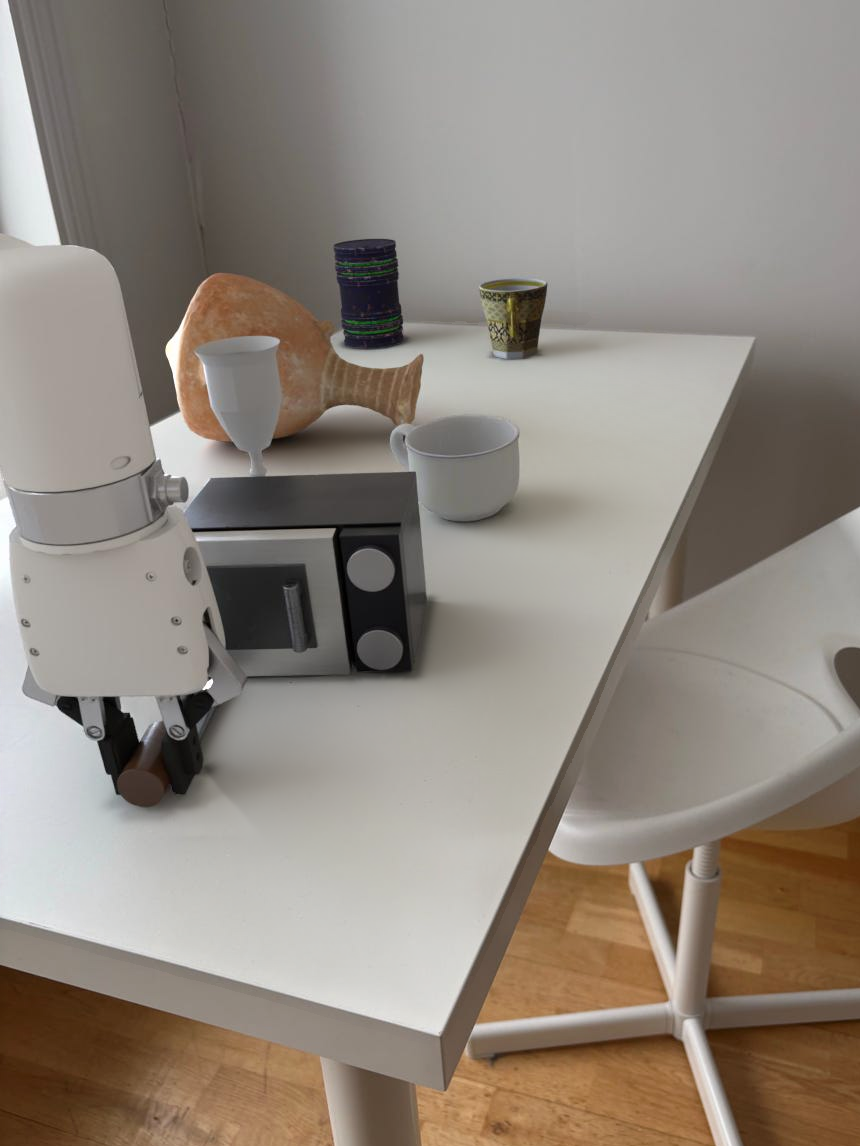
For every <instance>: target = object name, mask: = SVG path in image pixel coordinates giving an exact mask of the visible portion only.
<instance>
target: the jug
mask: <svg viewBox="0 0 860 1146" xmlns="http://www.w3.org/2000/svg"><path fill="white" fill-rule="evenodd" d="M335 329H336V328H335V325H334V324H333V322H332V321H330V320H328V319H327V320H324V321H318V320H317V318H315V317H314V316H313V314H312V313H311V312H310V311H309V310H308V309H307V308H306V307H304V306H303V305H302V304H301V303H299V302H298V301H297V300H295V299H293V298H292V297H290V296H289V295H288V294H286V293H284V292H283V291H281V290H279V289H277V288H275V287H273V286H271V285H268V284H266V283H264V282H262V281H259V280H257V279H255V278H252V277H250V276H246V275H242V274H235V273H228V272H216V273H214V274H212V275H210V276H208V278H206V279H205V280H203V281H202V282H201V284H199V286H198V287H197V288H196V292H195V293H194V295H193V297H192V298H191V300H190V303H189V305H188V307H187V310H186V312H185V315H184V316H183V319H182V321H181V324H180V325H179V327H178V329H177V331H176V332H175V333H174V335H173V336H172V338H171V339H169V341H168V342H167V343H166V346H165V355H166V358H167V359H168V362H169V363H168V364H169V366H170V368H171V371H172V375H173V376H172V377H173V381H174V387H175V392H176V399H177V404H178V408H179V410H180V414H181V416H182V419H183V422H184V423H185V425H186V426H187V427H188V429H189V431H190V432H193V433H194V434H196V436H198V437H201V438H203V439H207V440H211V441H216V442H217V441H218V442H223V443H234V442H233V441H232V440H231V438H230V437H229V435H228V434H227V433H226V431H225V430H224V429H223V427H222V426H221V424H220V422H219V420H218V419H217V417H216V415H215V413H214V411H213V410H212V408H211V405H210V399H209V394H208V389H207V383H206V378H205V372H204V367H203V363H202V361H201V360H200V359H199V357H198V356H197V355H196V353H195V352H194V350H195V348H197V347H198V346H200V345H202V344H205V343H208V342H212V341H216V340H221V339H227V338H233V337H243V336H270V337H274V338H277V339H279V340H280V343H279V346H278V349H277V352H276V359H277V365H278V372H279V379H280V386H281V392H282V400H281V406H280V412H279V417H278V422H277V425H276V428H275V431H274V434H273V437H272V440H275V439H282V438H286V437H291V436H292V435H294V434H296V433H297V432H299V431H301V430H304V429H306V428H307V427H308V426H310V425H311V424H313V423H314V422H316V421H318V420H319V419H320V418H321V417H322V415H324V413H325V412H326V411H327V410H329V409H332V408H335V407H339V406H358V407H361V408H366V409H368V410H371V411H373V412H375V413H379V414H381V415H382V416H383V417H385V418H388V419H390V420H391V422H392V423H393V424H394V425H395V426H396V427H397V426H399V425H401V424H412V423H413V422H414V421H415V419H416V410H417V404H418V403H417V402H418V399H419V396H420V395H419V394H420V391H421V387H422V381H421V380H422V375H423V365H424V361H425V360H424V359H425V357H424V355H423V353H420V354H418V355H417V356H416V357H415V358H414V359H413V360H412V361H411V362H409V363H407V364H405V365H402V366H396V367H389V368H388V367H387V368H377V367H368V366H361V365H358V364H356V363H352V362H349V361H347V360H346V359H343V358H341V356H339V354H338V353H337V352H336V350H335V348H334V345H333V344H332V341H331V337H332V336H333V334H335V333H334V332H335ZM403 437H405V438H406V435H404V434H403Z"/></svg>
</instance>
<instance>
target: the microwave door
mask: <svg viewBox="0 0 860 1146" xmlns="http://www.w3.org/2000/svg"><path fill="white" fill-rule="evenodd" d="M193 534H194V537H195V539H196V542H197V544H198V547H199V549H200V552H201V555H202V557H203V560H204V563H205V566H206V569H207V572H208V575H209V578H210V581H211V585H212V588H213V591H214V595H215V598H216V602H217V605H218V609H219V613H220V617H221V621H222V625H223V630H224V635H225V649H226V650H227V651H228V653H229V654H230V655H231V656H232V658H233V659H234V660H235V662H236V663H237V664H238V665H239V667H240V668H241V669H242V670H243V672H244V673H245V674H246V676H247V677H285V676H288V677H289V676H291V677H293V676H337V675H338V676H339V675H340V676H342V675H343V676H345V675H346V676H347V675H351V673H352V670H353V667H354V664H355V663H354V662H353V654H352V646H351V638H350V631H349V623H348V615H347V607H346V600H345V592H344V584H343V576H342V569H341V561H340V553H339V546H338V538H337V530H336V528H324V529H289V530H254V531H218V532H193ZM208 623H209V622H208ZM208 678H211V677H210V676H209V675H208Z"/></svg>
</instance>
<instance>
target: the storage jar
mask: <svg viewBox="0 0 860 1146" xmlns="http://www.w3.org/2000/svg"><path fill="white" fill-rule="evenodd" d="M396 248H397V241H396V240H394V239H390V238H362V239H352V240H346V241H340V242H337V243H335V244H333V252H334V261H335V262H334V270H335V272H336V282H337V284H338V285H339V295H340V304H341V308H340V316H341V320H340V321H341V328H342V329H343V330H342V333H343V336H344V340H343V342H344V343H343V344H344V346H345V347H347V348H350V349H357V350H373V349H376V350H377V349H384V348H389V347H394V346H398V345H399V344H402V343H403V342H404V341H405V336H404V334H403V333H404V332H403V331H404V326H403V325H404V317H403V314H402V311H403V310H402V305H401V303H400V294H399V283H398V281H399V279H400V277H399V276H400V272H399V268H398V267H399V260H398V258H397V257H398V254H397V250H396Z"/></svg>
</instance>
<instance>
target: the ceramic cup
mask: <svg viewBox="0 0 860 1146" xmlns="http://www.w3.org/2000/svg"><path fill="white" fill-rule="evenodd" d="M478 290H479V295H480V296H479V297H480V300H481V301H480V302H481V304H482V310H483V313H484V316H485V318H486V323H487V329H488V334H489V339H490V342H491V348H492V353H493V356H494V357H496V358H500V359H504V360H521V359H526V358H530V357H533V356H536V354H537V353H538V347H539V339H540V331H541V326H542V325H541V324H542V319H543V314H544V310H545V304H546V300H547V294H548V293H547V292H548V282H547V281H546V280H543V279H540V278H539V279H538V278H531V277H530V278H529V277H513V278H512V277H511V278H501V279H493V280H490V281H486V282H483V283H481V284H479V285H478Z"/></svg>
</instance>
